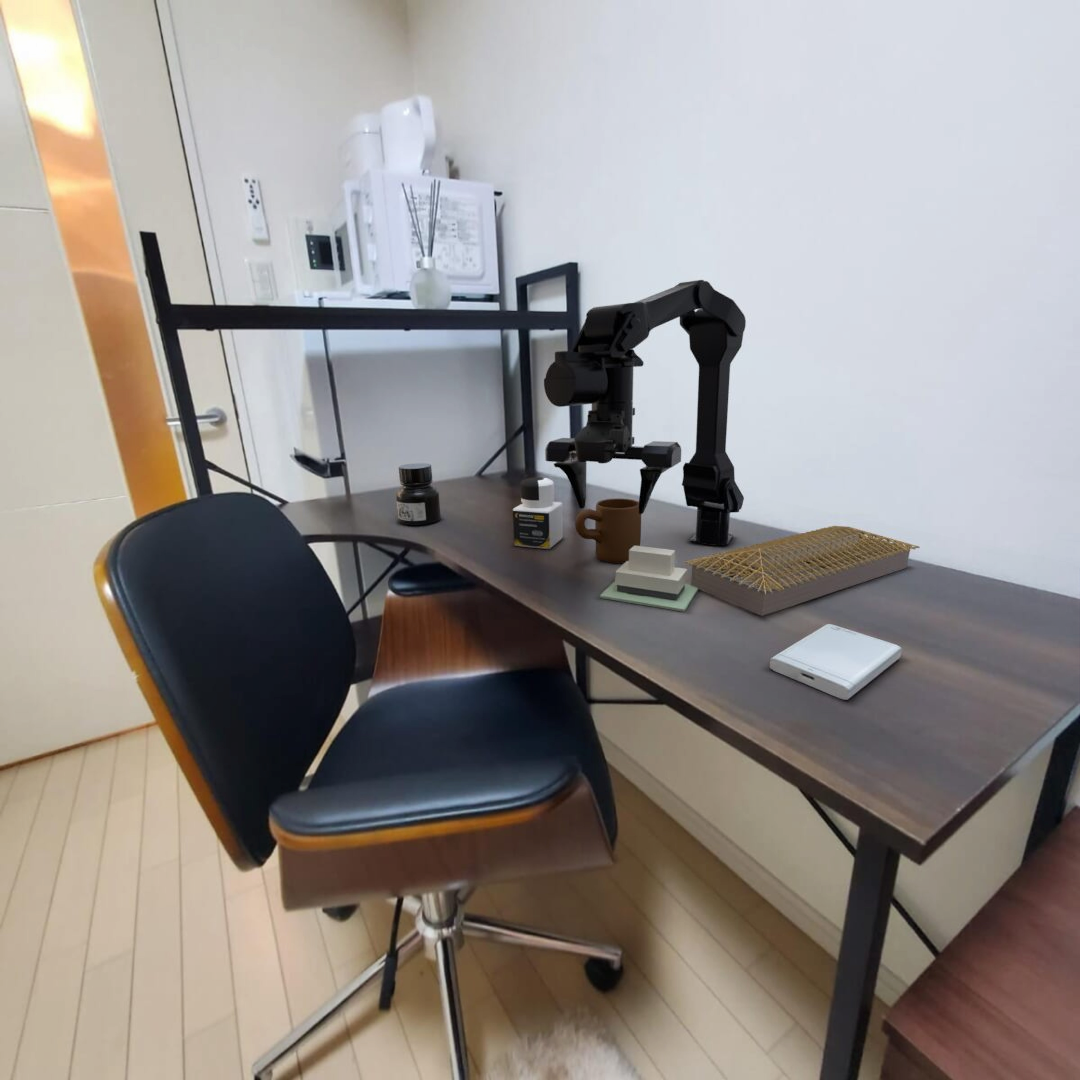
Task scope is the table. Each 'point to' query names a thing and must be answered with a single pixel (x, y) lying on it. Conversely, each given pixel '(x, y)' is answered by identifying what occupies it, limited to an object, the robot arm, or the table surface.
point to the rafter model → (825, 547)
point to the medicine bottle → (537, 515)
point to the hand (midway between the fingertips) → (611, 510)
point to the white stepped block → (651, 573)
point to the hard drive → (836, 660)
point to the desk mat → (652, 598)
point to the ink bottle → (417, 495)
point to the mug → (612, 528)
